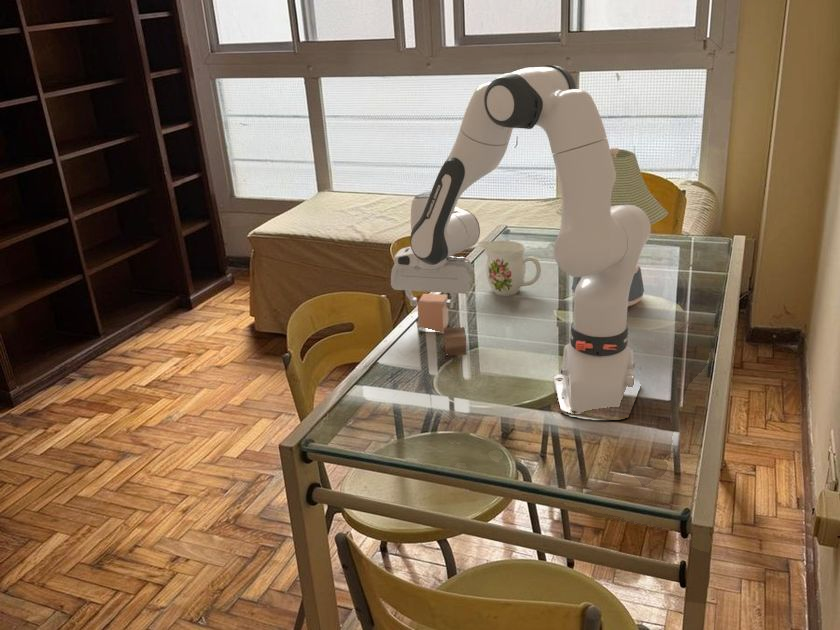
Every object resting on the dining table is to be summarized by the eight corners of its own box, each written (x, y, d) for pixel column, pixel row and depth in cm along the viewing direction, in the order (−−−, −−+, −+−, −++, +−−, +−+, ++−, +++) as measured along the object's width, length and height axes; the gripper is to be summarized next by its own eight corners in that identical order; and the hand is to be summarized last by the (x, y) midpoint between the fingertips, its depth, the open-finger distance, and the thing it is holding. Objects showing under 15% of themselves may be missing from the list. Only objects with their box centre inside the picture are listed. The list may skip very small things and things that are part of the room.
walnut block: (466, 354, 192) (465, 336, 190) (445, 356, 192) (444, 337, 190) (464, 345, 197) (464, 327, 195) (444, 346, 197) (443, 328, 195)
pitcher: (534, 302, 218) (535, 255, 213) (472, 295, 225) (471, 249, 220) (545, 287, 228) (546, 241, 222) (485, 281, 234) (484, 236, 229)
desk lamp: (664, 322, 203) (678, 160, 186) (551, 317, 209) (554, 160, 192) (658, 283, 226) (669, 136, 209) (556, 281, 232) (559, 137, 215)
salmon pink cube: (443, 333, 204) (442, 304, 200) (419, 332, 205) (417, 303, 202) (448, 322, 209) (447, 294, 206) (424, 321, 211) (423, 293, 207)
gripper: (473, 253, 200) (474, 303, 205) (394, 249, 204) (396, 298, 210) (468, 262, 194) (469, 314, 200) (387, 258, 199) (390, 308, 204)
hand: (431, 306), depth 205 cm, fingers open, 8 cm apart
